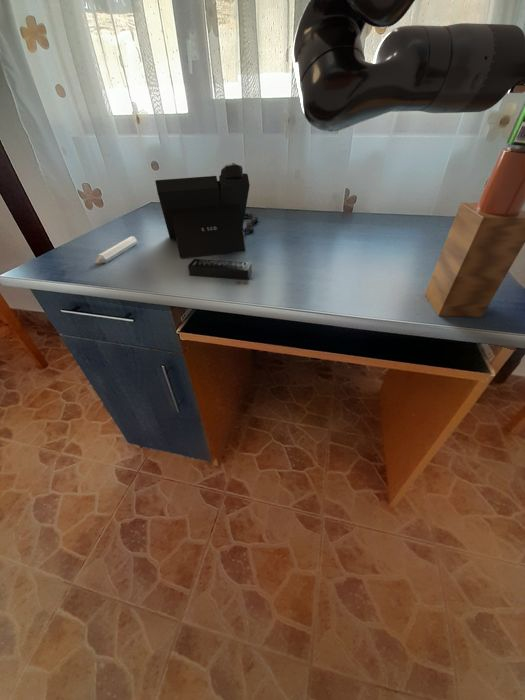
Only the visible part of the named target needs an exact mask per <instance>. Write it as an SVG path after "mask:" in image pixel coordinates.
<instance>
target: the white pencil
mask: <svg viewBox="0 0 525 700" xmlns="http://www.w3.org/2000/svg"><path fill="white" fill-rule="evenodd" d="M137 244H138V239H137V238H136V237H135V236H131V235H130V236H129V237H126V238H125V239H124V240H122V241H119V242H118V243H116V244H115V245H113V246H112V247H109V248H108V249H106V250H104V251H102V252H100V253H99V254H98V256H97V259H96V261H95V262H94V265H98V264H107V263H108V262H110V261H112V260H114V259H115V258H116V257H118V256H120V255H121V254H123V253H125V252H126V251H128V250H130V249H132V248H133V247H134V246H136V245H137Z"/></svg>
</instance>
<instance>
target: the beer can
mask: <svg viewBox="0 0 525 700" xmlns="http://www.w3.org/2000/svg"><path fill="white" fill-rule="evenodd" d="M505 145H506V146H505V148H506V150H509V151H514V152H524V153H525V101H524V102H523V104H522V107H521V109H520V111H519V114H518V116H517V118H516V120H515V123H514V124H513V127H512V129H511V132H510V134H509V136H508V138H507V141H506V144H505Z"/></svg>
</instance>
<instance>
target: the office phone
mask: <svg viewBox="0 0 525 700" xmlns="http://www.w3.org/2000/svg"><path fill="white" fill-rule="evenodd" d="M155 187H156V193H157V196H158V199H159V204H160V208H161V210H162V215H163V218H164V222H165V225H166V229H167V233H168V237H169V240H170V241H171V240H175V241H176V245H177V250H178V256H179V259H181V260H182V259H188V258H197V257H207V256H214V255H223V254H232V253H238V252H239V253H240V252H246V245H245V238H244V234H247V233H250V232H252V231H253V230H254V226H253V224H254V223H256V222H257V221H258V220H259V219H258V218H259V215H258V214H256V213H253V212H252V213H251V212H246V210H247V204H248V198H249V191H250V179H249V174H248V173H244V170H243V165H240V164H237V163H234V162H232V163H229V164H225V165H224V166H223V167H222V168H221V170H220V174H219V175H218V176H217V175H207V176H195V177H193V176H192V177H182V178H181V177H180V178H167V179H165V178H164V179H157V180H156V179H155ZM247 218H250V219H249V220H247V222H246V227H245V228H244V221H245V219H247Z"/></svg>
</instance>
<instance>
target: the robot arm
mask: <svg viewBox="0 0 525 700" xmlns="http://www.w3.org/2000/svg"><path fill="white" fill-rule="evenodd" d="M415 2H416V0H309V1H308V3H307V4H306V6H305V8H304V10H303V13H302V14H301V17H300V19H299V21H298V25H297V28H296V31H295V35H294V40H293V46H292V63H293V64H292V65H293V69H294V74H295V78H296V83H297V88H298V93H299V94H298V95H299V99H300V104H301V105H300V106H301V110H302V112H303V116H304V118H305V119H306V121H307V122H308V124H309V125H311V126H312V127H313V128H315V129H316V130H317V129H318V130H320V131H323V132H330V133H331V132H338V131H339V132H340V131H342V130H345V129H348V128H350V127H352V126H355V125H358V124H360V123H363V122H365V121H369V120H371V119H374V118H377V117H379V116H382V115H385V114H388V113H390V112H394V113H395V112H396V113H399V112H401V113H402V112H423V113H429V114H458V113H463V114H464V113H482V112H485V111H487V110H489V109H492V108H493V107H494V106H495V105H497V104H498V103H500V101H501V100H502V99H503V98H504V97H505V96H506V95H507V94H523V93H525V32H524V31H523V29H522V28H521V27H519V26H518V25H516V24H504V23H503V24H500V23H475V22H474V23H471V22H460V23H454V24H453V23H452V24H449V25H421V24H420V25H419V24H418V25H402V26H398V27H396V28H393V29H392V30H391V31H389V33H387V34H386V35H385V37H383V39H382V40H381V42H380V43H379V45H378V47H377V49H376V52H375V54H374V57H373V59H372V60H373V61H372V62H368V61H367V60H366V56H365V53H364V48H363V43H362V39H361V37H362V35H363V32H364V29H365V27H366V25H368V26H370V27H374V28H377V29H386V28H390V27H392V26H394V25H395V24H397V23H399V22H400V20H402V19H403V17H405V16H406V14H407V13H408V11H409V10H410V9H411V7H412V6H413V4H414V3H415Z"/></svg>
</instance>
